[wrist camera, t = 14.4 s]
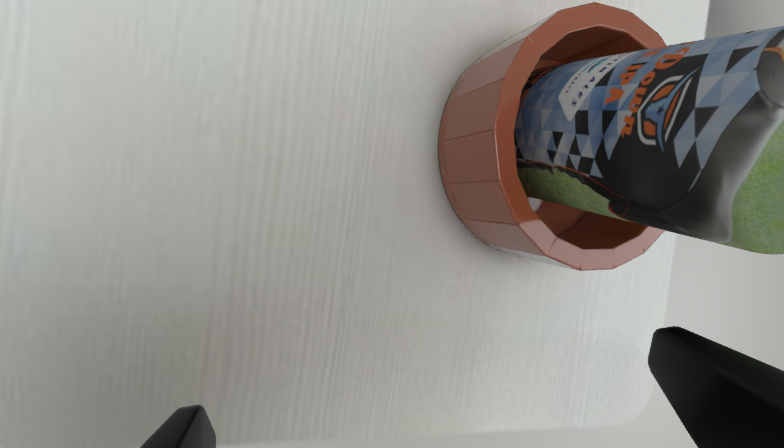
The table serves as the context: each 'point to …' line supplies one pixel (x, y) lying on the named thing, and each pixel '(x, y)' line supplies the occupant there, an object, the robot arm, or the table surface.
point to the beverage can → (665, 138)
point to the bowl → (497, 146)
